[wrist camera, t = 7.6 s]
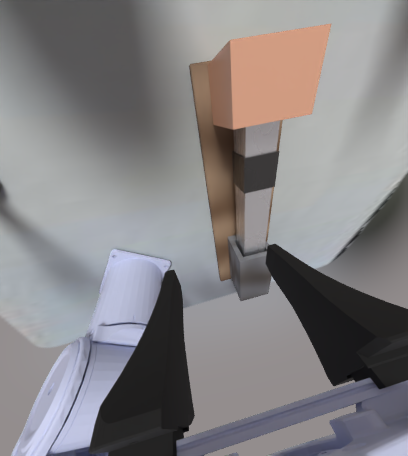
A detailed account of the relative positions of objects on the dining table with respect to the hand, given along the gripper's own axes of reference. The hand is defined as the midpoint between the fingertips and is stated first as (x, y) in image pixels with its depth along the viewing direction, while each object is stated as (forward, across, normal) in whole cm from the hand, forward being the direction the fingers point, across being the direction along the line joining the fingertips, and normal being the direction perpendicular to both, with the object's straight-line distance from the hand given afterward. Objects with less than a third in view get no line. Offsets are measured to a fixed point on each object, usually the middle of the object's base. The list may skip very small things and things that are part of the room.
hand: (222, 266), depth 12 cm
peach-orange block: (+9, -5, -10) cm, 14 cm away
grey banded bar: (+8, -5, -1) cm, 9 cm away
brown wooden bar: (+9, -5, +1) cm, 11 cm away
